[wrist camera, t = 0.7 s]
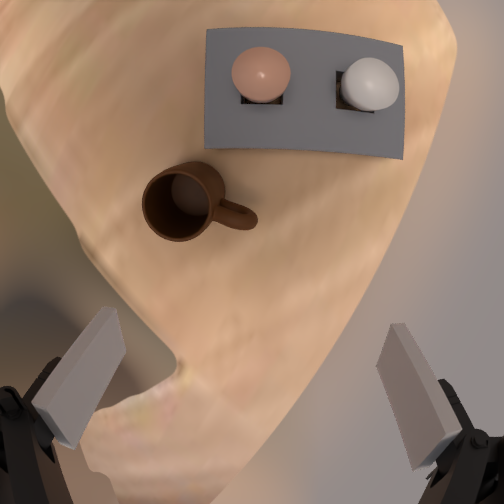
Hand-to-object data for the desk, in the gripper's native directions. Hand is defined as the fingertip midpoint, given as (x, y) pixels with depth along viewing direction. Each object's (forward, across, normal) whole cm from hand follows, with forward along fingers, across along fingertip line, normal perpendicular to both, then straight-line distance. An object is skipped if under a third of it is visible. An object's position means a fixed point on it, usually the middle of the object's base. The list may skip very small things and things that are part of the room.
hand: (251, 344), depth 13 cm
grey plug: (+23, +9, +15) cm, 29 cm away
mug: (+26, -6, +1) cm, 27 cm away
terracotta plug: (+23, -1, +15) cm, 27 cm away
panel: (+26, +4, +15) cm, 30 cm away
